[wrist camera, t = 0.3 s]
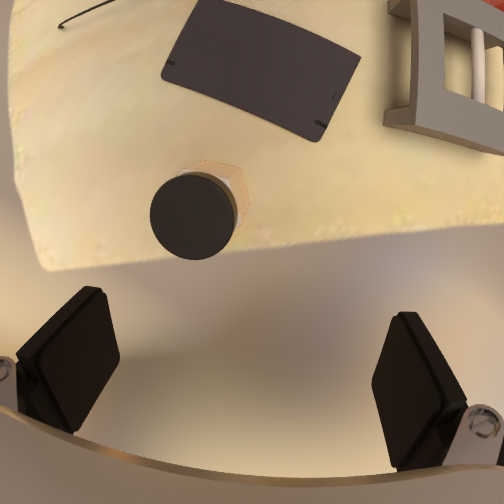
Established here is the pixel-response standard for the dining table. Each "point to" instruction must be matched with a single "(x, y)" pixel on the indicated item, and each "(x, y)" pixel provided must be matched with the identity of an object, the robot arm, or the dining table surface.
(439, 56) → the grey frame with crossbar
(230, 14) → the notebook
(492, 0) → the red stepped block
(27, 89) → the dining table surface
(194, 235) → the jar
